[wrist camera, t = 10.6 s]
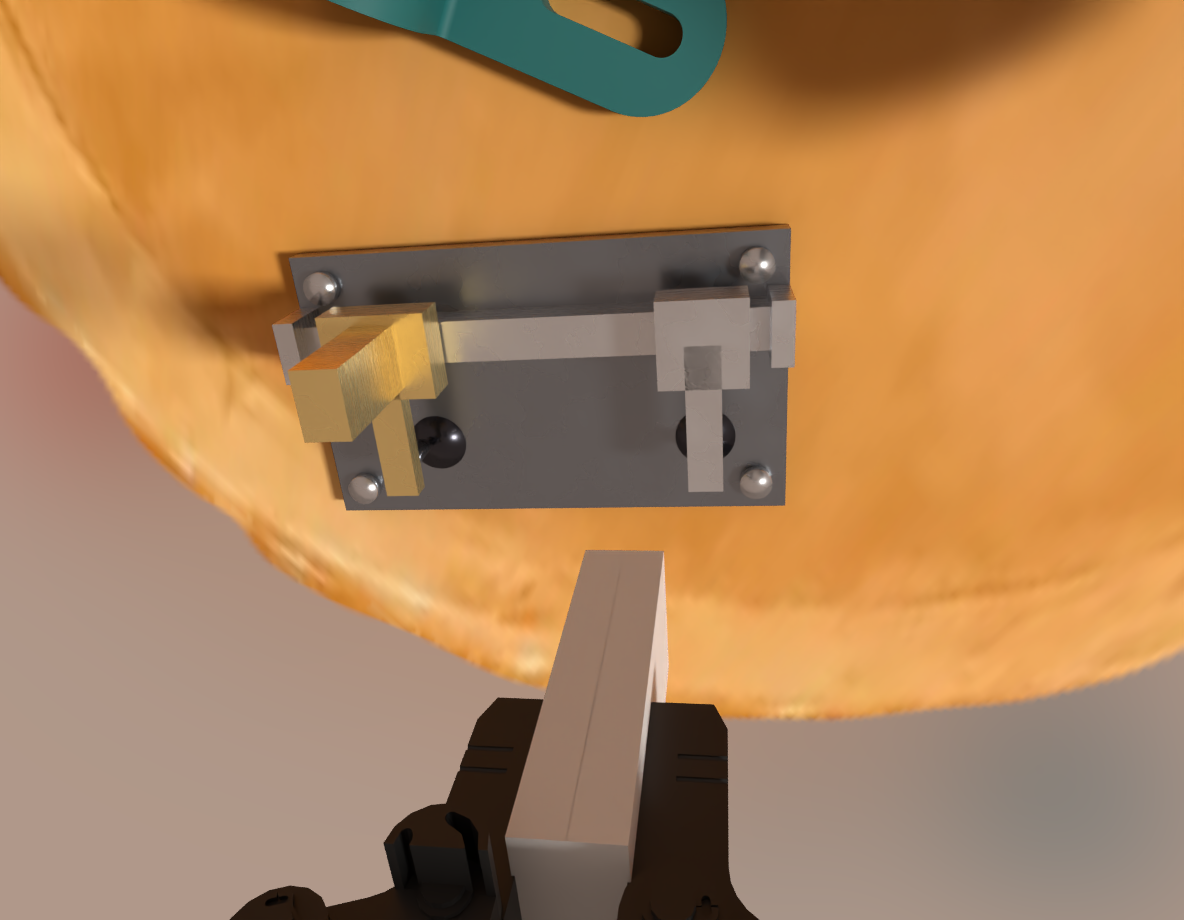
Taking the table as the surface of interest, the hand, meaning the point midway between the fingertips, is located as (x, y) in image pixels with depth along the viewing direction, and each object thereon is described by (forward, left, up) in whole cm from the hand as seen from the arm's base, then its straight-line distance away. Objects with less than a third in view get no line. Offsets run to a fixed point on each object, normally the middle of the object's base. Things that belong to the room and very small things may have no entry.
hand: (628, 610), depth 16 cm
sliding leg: (+4, -13, -25) cm, 28 cm away
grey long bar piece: (+4, -7, -25) cm, 26 cm away
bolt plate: (+4, -7, -26) cm, 28 cm away
